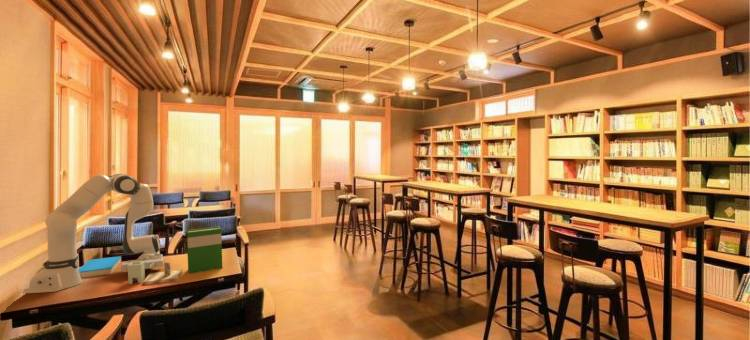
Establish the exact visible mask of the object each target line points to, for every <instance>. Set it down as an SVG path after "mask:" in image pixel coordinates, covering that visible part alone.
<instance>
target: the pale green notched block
mask: <svg viewBox="0 0 750 340" xmlns="http://www.w3.org/2000/svg"><path fill="white" fill-rule="evenodd" d="M145 270H146V269H145V266H144V261H138V262H131V263H130V264H129V265H128V270H127V280H128V281H127V284H128V285H131V284H133V283H134V281H137V284H141V283H142V284H143V281H144V280H145V279H146V272H145Z"/></svg>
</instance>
